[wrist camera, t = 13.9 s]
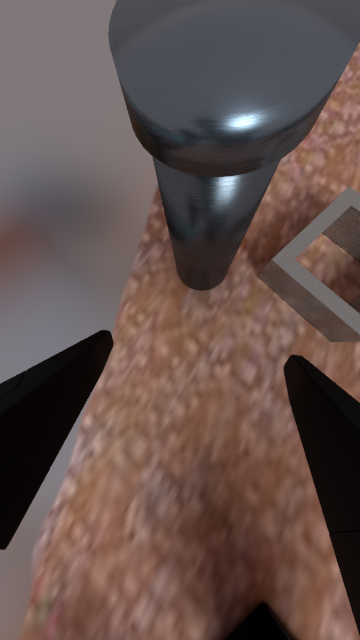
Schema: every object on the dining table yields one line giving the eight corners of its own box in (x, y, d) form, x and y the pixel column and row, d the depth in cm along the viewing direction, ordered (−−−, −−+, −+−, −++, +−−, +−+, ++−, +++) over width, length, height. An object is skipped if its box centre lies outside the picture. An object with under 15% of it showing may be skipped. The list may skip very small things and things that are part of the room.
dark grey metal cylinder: (245, 267, 18) (432, -11, 4) (199, 307, 18) (225, 164, 4) (204, 227, 19) (234, -105, 5) (160, 265, 19) (63, 27, 5)
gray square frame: (399, 275, 17) (452, 257, 13) (331, 342, 16) (367, 341, 13) (319, 216, 18) (348, 186, 15) (256, 275, 18) (271, 259, 15)
